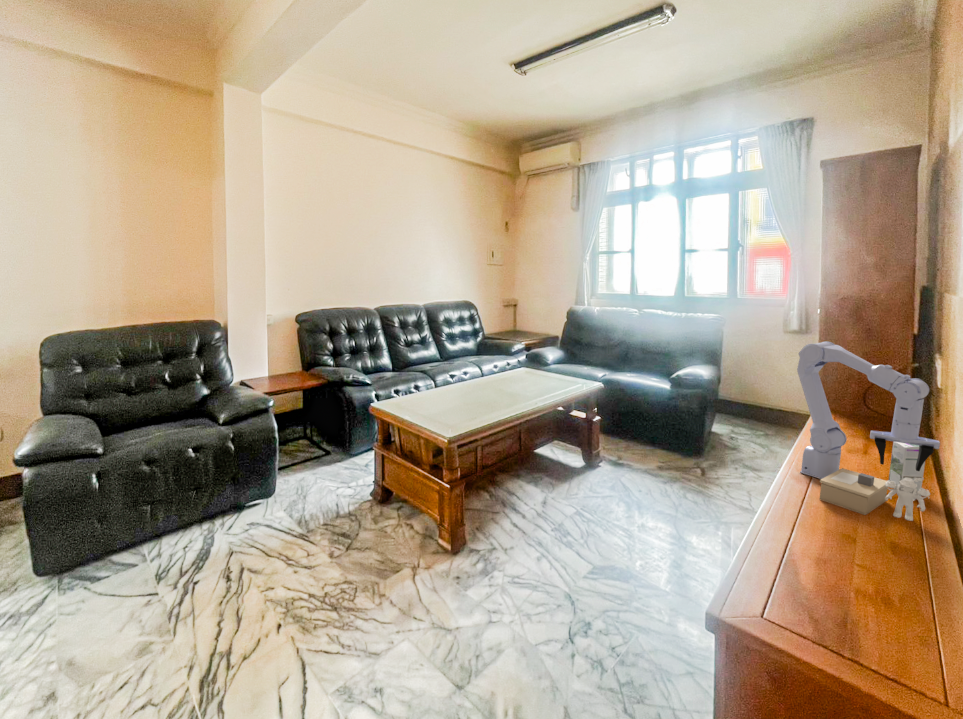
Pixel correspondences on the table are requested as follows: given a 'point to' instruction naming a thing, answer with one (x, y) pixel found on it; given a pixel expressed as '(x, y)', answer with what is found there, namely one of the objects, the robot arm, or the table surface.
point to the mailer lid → (854, 482)
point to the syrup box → (905, 463)
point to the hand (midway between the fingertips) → (899, 466)
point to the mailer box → (852, 499)
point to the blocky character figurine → (907, 496)
